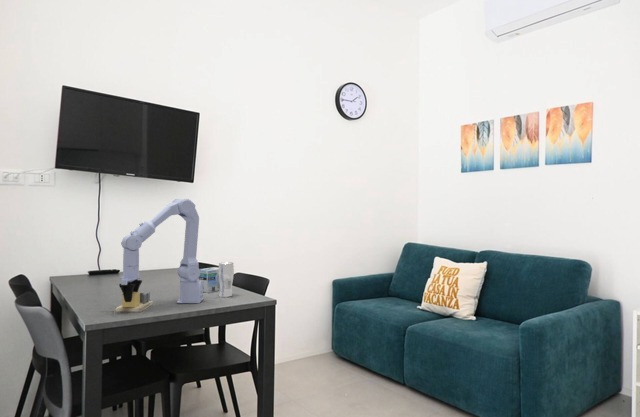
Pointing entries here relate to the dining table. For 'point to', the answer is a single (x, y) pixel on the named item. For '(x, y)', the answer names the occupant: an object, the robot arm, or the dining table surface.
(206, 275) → the light bulb box
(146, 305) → the base plate
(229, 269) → the beer glass
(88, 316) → the dining table surface
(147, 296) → the housing
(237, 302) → the dining table surface
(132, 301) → the block
